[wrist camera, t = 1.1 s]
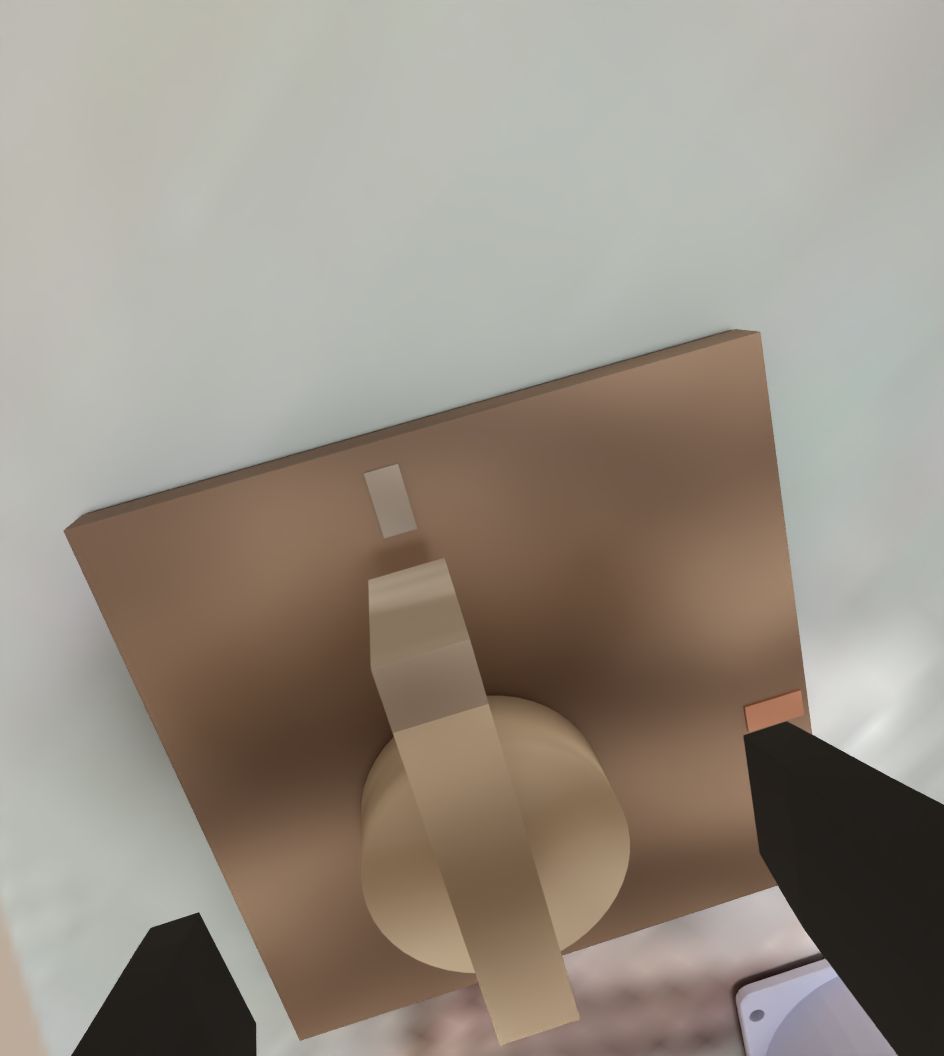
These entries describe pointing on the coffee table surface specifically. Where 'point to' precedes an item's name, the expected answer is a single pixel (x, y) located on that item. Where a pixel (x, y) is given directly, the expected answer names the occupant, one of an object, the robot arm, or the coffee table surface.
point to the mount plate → (471, 639)
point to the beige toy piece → (480, 815)
